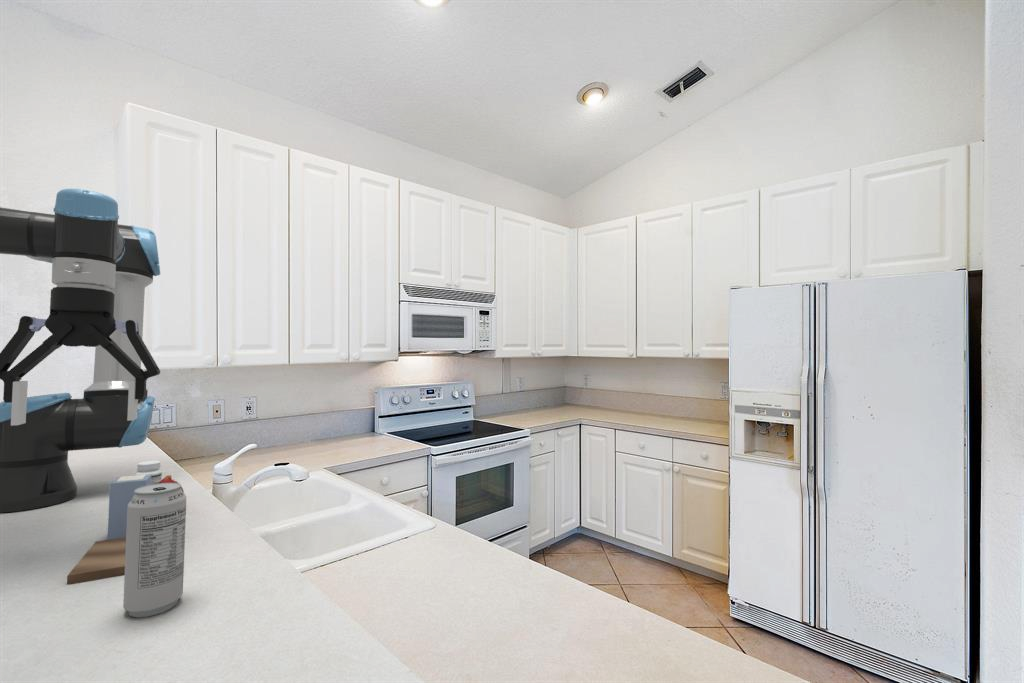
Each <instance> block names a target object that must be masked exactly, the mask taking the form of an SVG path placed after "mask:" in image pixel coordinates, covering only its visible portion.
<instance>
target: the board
mask: <svg viewBox="0 0 1024 683" xmlns="http://www.w3.org/2000/svg"><path fill="white" fill-rule="evenodd" d="M125 554H126V537H123V538H116V539H109V540H107V539H104V540H102V539H101V540H97V541H95V542H94V543H93V544H92V545H91V546H90V547H89V549H88V550H87V551H86V553H85V554H84V555H83V556H82V557H81V558H80V559H79V561H78V562H77V564H76V565H75V566H74V567H73V568H72V569H71V571H69V573H68V575H67V578H66V585H71V584H77V583H83V582H88V581H89V582H90V581H94V580H101V579H106V578H113V577H116V576H117V577H119V576H125Z"/></svg>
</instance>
